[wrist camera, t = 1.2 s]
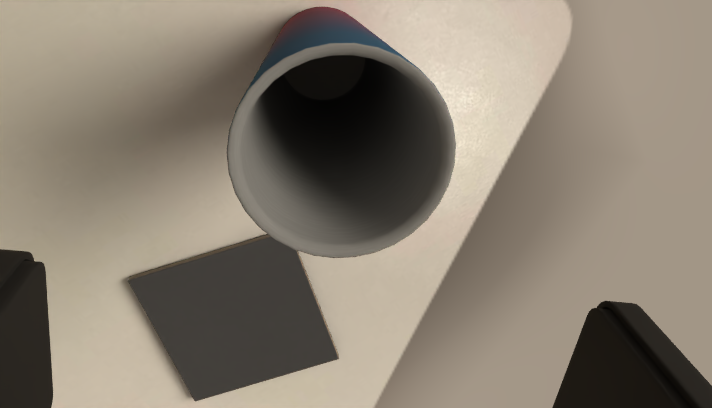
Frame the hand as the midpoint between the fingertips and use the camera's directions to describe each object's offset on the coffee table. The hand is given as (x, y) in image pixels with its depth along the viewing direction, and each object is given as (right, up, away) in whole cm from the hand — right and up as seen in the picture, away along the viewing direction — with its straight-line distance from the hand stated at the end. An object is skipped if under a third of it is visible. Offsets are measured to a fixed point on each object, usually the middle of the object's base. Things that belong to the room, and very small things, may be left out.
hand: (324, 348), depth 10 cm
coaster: (-7, -5, +27) cm, 29 cm away
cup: (-1, +10, +21) cm, 24 cm away
